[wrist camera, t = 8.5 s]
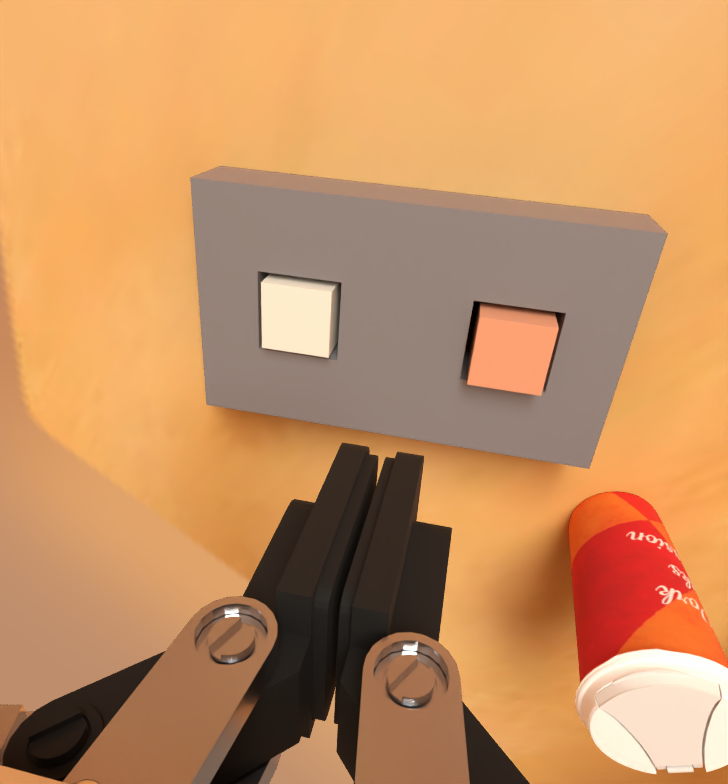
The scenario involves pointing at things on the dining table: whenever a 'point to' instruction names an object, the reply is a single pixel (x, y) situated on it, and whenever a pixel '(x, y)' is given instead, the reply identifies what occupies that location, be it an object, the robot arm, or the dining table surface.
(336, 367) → the button panel
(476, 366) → the peach square button
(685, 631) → the coffee cup
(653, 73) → the dining table surface
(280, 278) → the cream cube block
